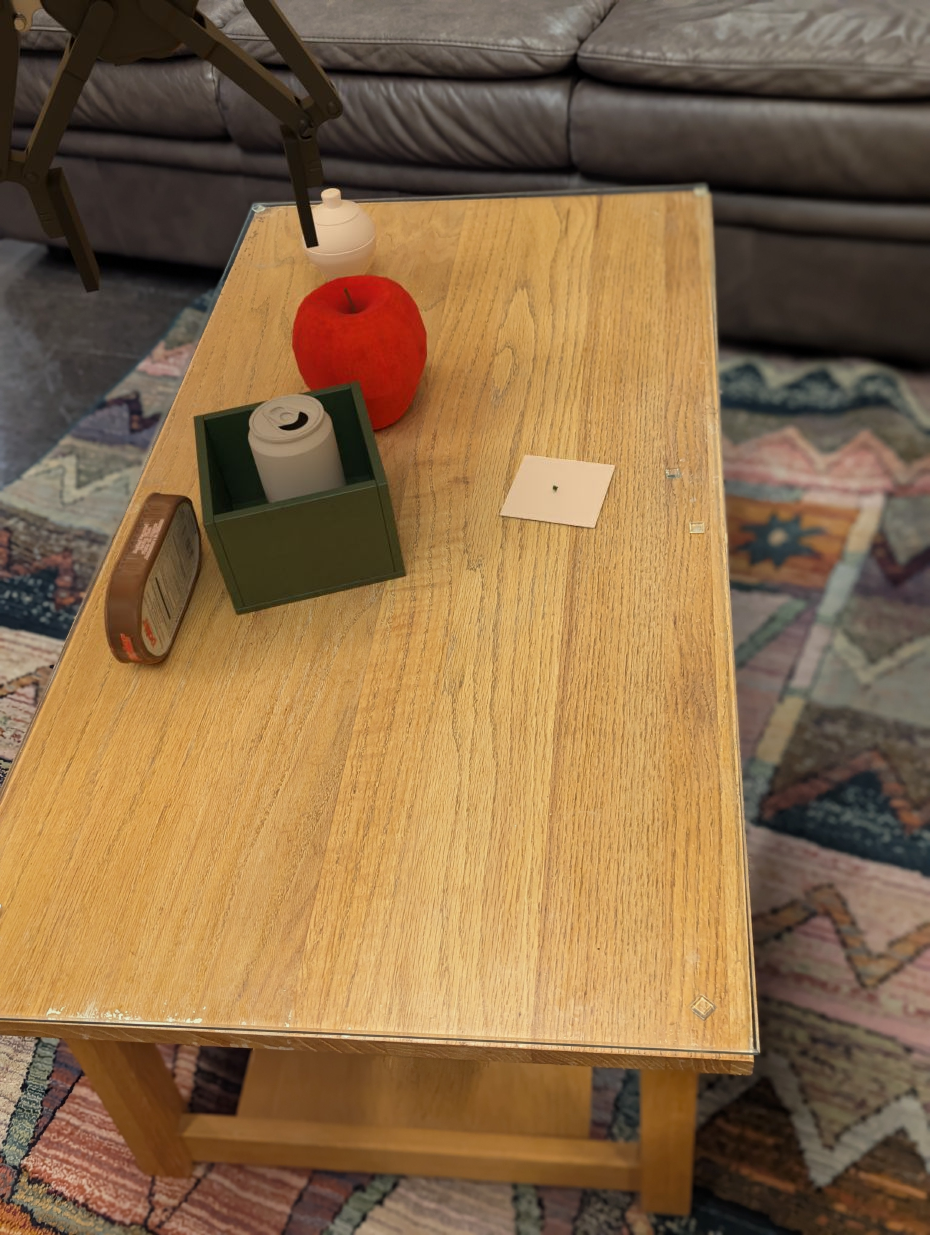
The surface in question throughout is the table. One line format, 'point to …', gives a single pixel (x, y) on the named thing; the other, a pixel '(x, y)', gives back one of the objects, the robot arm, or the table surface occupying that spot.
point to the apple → (362, 342)
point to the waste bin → (296, 511)
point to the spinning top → (341, 237)
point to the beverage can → (294, 447)
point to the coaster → (558, 491)
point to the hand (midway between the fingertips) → (202, 259)
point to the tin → (153, 579)
